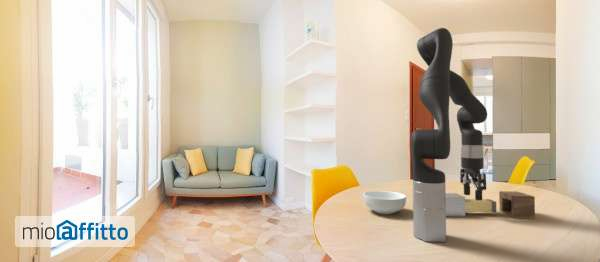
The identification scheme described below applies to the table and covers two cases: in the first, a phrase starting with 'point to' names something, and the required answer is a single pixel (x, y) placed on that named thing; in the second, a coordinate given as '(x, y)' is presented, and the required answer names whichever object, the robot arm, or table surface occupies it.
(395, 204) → the cereal bowl
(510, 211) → the socket
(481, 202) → the rod
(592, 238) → the table surface
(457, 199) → the sleeve
